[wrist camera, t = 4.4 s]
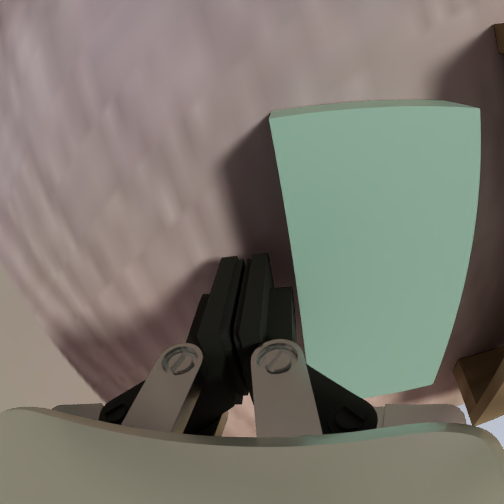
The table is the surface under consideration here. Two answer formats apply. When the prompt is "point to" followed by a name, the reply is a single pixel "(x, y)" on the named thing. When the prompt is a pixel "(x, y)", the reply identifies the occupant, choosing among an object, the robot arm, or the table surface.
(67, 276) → the table surface
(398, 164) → the mint green tile
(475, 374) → the walnut stand
